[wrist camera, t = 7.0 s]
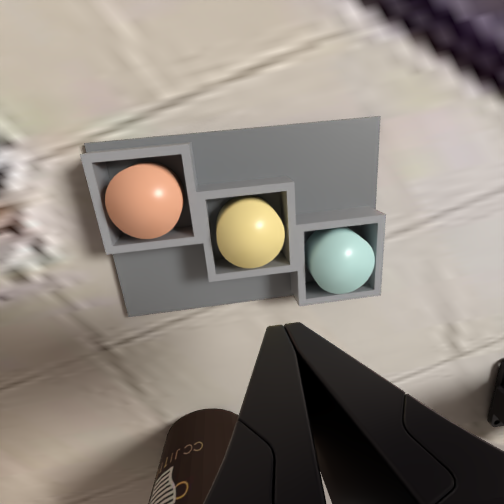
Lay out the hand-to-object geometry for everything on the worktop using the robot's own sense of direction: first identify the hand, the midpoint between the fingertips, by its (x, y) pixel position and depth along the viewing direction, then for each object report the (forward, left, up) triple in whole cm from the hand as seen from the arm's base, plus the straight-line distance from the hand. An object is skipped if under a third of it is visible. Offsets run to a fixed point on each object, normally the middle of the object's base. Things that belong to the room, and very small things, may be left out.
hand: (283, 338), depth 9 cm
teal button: (-5, +2, -11) cm, 12 cm away
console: (0, 0, -12) cm, 12 cm away
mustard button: (0, 0, -11) cm, 11 cm away
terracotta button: (+5, -2, -11) cm, 12 cm away
